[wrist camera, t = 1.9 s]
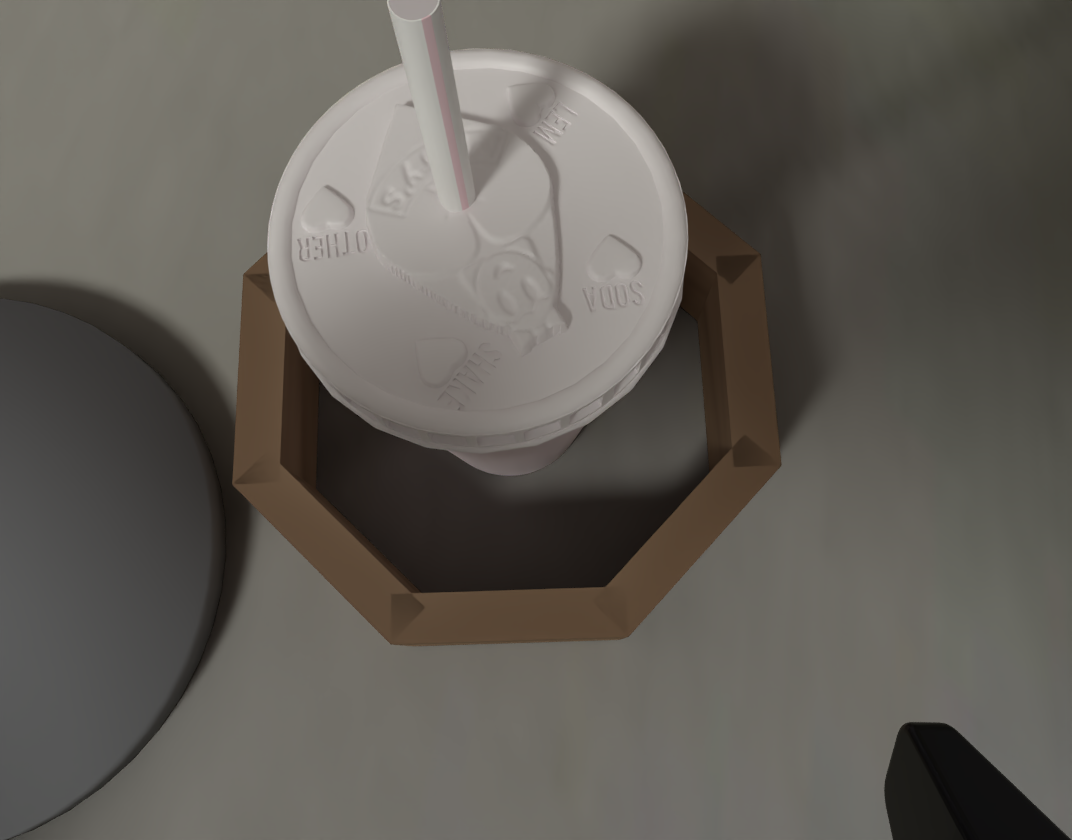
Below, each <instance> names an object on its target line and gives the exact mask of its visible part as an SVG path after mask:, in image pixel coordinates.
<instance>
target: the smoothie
mask: <svg viewBox="0 0 1072 840" xmlns="http://www.w3.org/2000/svg"><path fill="white" fill-rule="evenodd" d="M387 4H388V8H389V12H390V16H391V20H392V24H393V27H394V31H395V35H396V39H397V43H398V46H399V50H400V54H401V58H402V62H403V63H402V64H399V65H397V66H394V67H392V68H390V69H388V70H386V71H383V72H381V73H379V74H377V75H375V76H374V77H372V78H370V79H369V80H367V81H365V82H363V83H362V84H360V85H359V86H357V87H356V88H354V89H353V90H352V91H350V92H349V93H347V94H346V95H344V96H343V97H342V98H341V99H340V100H339V101H337V102H336V103H335V104H334V105H333V106H332V107H330V108H329V109H328V110H327V111H326V112H325V113H324V114H323V115H322V117H321V118H320V119H319V120H318V121H317V122H316V123H315V124H314V125H313V127H312V128H311V129H310V130H309V131H308V133H307V134H306V135H305V136H304V138H303V139H302V141H301V142H300V144H299V145H298V147H297V148H296V150H295V151H294V153H293V155H292V157H291V159H290V161H289V162H288V164H287V166H286V168H285V170H284V173H283V175H282V178H281V180H280V182H279V185H278V187H277V191H276V194H275V198H274V201H273V204H272V209H271V214H270V220H269V227H268V240H267V252H268V267H269V275H270V281H271V285H272V289H273V293H274V298H275V301H276V304H277V306H278V309H279V312H280V315H281V317H282V319H283V321H284V323H285V325H286V327H287V329H288V331H289V333H290V335H291V337H292V338H293V340H294V342H295V343H296V345H297V346H298V349H299V352H300V354H301V356H302V357H303V359H304V360H305V361H306V363H307V364H308V365H309V367H310V368H311V369H312V370H313V372H314V373H315V374H316V376H317V377H318V378H319V380H320V381H321V382H322V384H323V385H324V386H325V387H326V389H327V390H328V391H329V393H330V394H331V395H332V396H333V397H334V398H335V399H337V400H338V401H339V402H341V403H342V404H343V405H345V406H346V407H347V408H349V409H350V410H351V411H353V412H354V413H355V414H357V415H358V416H359V417H361V418H362V419H364V420H365V421H366V422H368V423H369V424H370V425H372V426H373V427H374V428H376V429H379V430H381V431H384V432H387V433H389V434H392V435H394V436H397V437H399V438H402V439H405V440H407V441H410V442H412V443H415V444H417V445H420V446H423V447H425V448H432V449H441V450H448V451H449V452H451V453H452V454H454V455H455V456H457V457H458V458H460V459H462V460H463V461H465V462H466V463H468V464H469V465H471V466H473V467H475V468H477V469H479V470H481V471H484V472H487V473H490V474H495V475H502V476H517V475H524V474H528V473H532V472H535V471H537V470H540V469H542V468H544V467H546V466H548V465H549V464H551V463H552V462H554V461H555V460H557V459H558V458H559V457H560V456H561V455H562V454H563V453H564V452H565V451H566V450H567V449H568V448H569V446H570V445H571V444H572V442H573V441H574V439H575V438H576V436H577V435H578V434H579V432H580V431H581V429H582V428H583V427H584V426H585V425H587V424H589V423H590V422H591V421H593V420H594V419H595V418H597V417H598V416H599V415H600V414H602V413H603V412H604V411H606V410H607V409H608V408H609V407H611V406H612V405H613V404H615V403H616V402H617V401H618V400H620V399H621V398H622V397H624V396H625V395H626V394H627V393H629V392H630V391H631V390H632V389H633V388H634V386H635V385H636V384H637V382H638V381H639V380H640V378H641V377H642V376H643V374H644V373H645V372H646V370H647V369H648V368H649V366H650V365H651V364H652V362H653V361H654V359H655V358H656V357H657V355H658V354H659V353H660V351H661V350H662V349H663V347H664V345H665V342H666V340H667V337H668V334H669V332H670V329H671V327H672V324H673V321H674V319H675V316H676V313H677V311H678V308H679V306H680V303H681V300H682V292H683V280H684V272H685V266H686V261H687V250H688V222H687V214H686V207H685V201H684V197H683V193H682V189H681V185H680V182H679V179H678V177H677V174H676V171H675V169H674V166H673V164H672V162H671V160H670V158H669V156H668V154H667V152H666V150H665V148H664V146H663V145H662V143H661V142H660V140H659V139H658V137H657V135H656V134H655V132H654V131H653V130H652V129H651V127H650V126H649V125H648V124H647V122H646V121H645V120H644V119H643V117H642V116H641V115H640V114H639V113H638V112H637V111H636V110H635V109H634V108H633V107H632V106H631V105H630V104H629V103H628V102H627V101H625V100H624V99H623V98H622V97H621V96H619V95H618V94H617V93H616V92H615V91H613V90H612V89H610V88H609V87H607V86H606V85H605V84H603V83H602V82H600V81H599V80H597V79H595V78H593V77H592V76H590V75H588V74H586V73H585V72H583V71H580V70H578V69H576V68H574V67H572V66H569V65H567V64H565V63H562V62H559V61H556V60H553V59H550V58H547V57H543V56H539V55H535V54H531V53H527V52H520V51H514V50H506V49H491V48H483V49H462V50H452V51H450V49H449V43H448V38H447V32H446V27H445V21H444V16H443V10H442V5H441V0H387Z"/></svg>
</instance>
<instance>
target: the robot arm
mask: <svg viewBox="0 0 1072 840" xmlns="http://www.w3.org/2000/svg"><path fill="white" fill-rule="evenodd" d="M884 792H885V803H886V809H887V814H888V818H889V823H890V828H891V832H892V837H893V840H1071V839H1070V838H1069V837H1068V836H1067V835H1066V834H1065V833H1064V832H1063V831H1061V830H1060V829H1059V828H1058V827H1057V826H1056V825H1055V824H1054V823H1053V822H1052V821H1051V820H1050V819H1049V818H1048V817H1047V816H1046V815H1045V814H1044V813H1043V812H1042V811H1041V810H1039V809H1038V808H1037V807H1036V806H1035V805H1034V804H1033V803H1032V802H1031V801H1030V800H1029V799H1028V798H1027V797H1026V796H1025V795H1024V794H1023V793H1022V792H1021V791H1020V790H1019V789H1017V788H1016V787H1015V786H1014V785H1013V784H1012V783H1011V782H1010V781H1009V780H1008V779H1007V778H1006V777H1005V776H1004V775H1003V774H1002V773H1001V772H1000V771H999V770H998V769H997V768H995V767H994V766H993V765H992V764H991V763H990V762H989V761H988V760H987V759H986V758H985V757H984V756H983V755H982V754H981V753H980V752H979V751H978V750H977V749H976V748H975V747H974V746H972V745H971V744H970V743H969V742H968V741H967V740H966V739H965V738H964V737H963V736H962V735H961V734H960V733H959V732H958V731H957V730H955V729H954V728H953V727H951V726H949V725H947V724H945V723H930V722H909V723H905V724H904V725H903V726H902V727H901V728H900V730H899V732H898V735H897V738H896V742H895V745H894V749H893V753H892V756H891V760H890V764H889V767H888V771H887V774H886V779H885V787H884Z"/></svg>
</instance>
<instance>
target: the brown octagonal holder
mask: <svg viewBox="0 0 1072 840" xmlns="http://www.w3.org/2000/svg"><path fill="white" fill-rule="evenodd" d="M682 193H683V197H684V201H685V207H686V214H687V222H688V250H687V261H686V266H685V272H684V280H683V292H682V300H681V303H680V307H681V308H683V309H684V310H685V311H686V312H687V313H689V314H690V315H691V316H692V317H693V318H695V319H696V320H697V321H698V333H699V345H700V358H701V371H702V383H703V396H704V409H705V421H706V434H707V446H708V459H709V472H710V473H709V474H708V475H707V476H706V477H705V478H704V479H703V480H702V481H701V483H700V484H699V485H698V486H697V487H696V488H695V489H694V490H693V491H692V492H691V494H690V495H689V496H688V497H687V498H686V499H685V500H684V501H683V502H682V503H681V505H680V506H679V507H678V508H677V509H676V510H675V511H674V512H673V513H672V514H671V516H670V517H669V518H668V519H667V520H666V521H665V522H664V523H663V524H662V525H661V527H660V528H659V529H658V530H657V531H656V532H655V533H654V534H653V535H652V536H651V538H650V539H649V540H648V541H647V542H646V543H645V544H644V545H643V546H642V547H641V549H640V550H639V551H638V552H637V553H636V554H635V555H634V556H633V557H632V558H631V560H630V561H629V562H628V563H627V564H626V565H625V566H624V567H623V568H622V569H621V571H620V572H619V573H618V574H617V575H616V576H615V577H614V578H613V579H612V580H611V582H610V583H609V584H608V585H607V586H606V587H592V588H561V589H531V590H500V591H470V592H439V593H421V592H420V591H419V590H418V589H417V588H416V587H415V586H414V585H413V584H412V583H411V582H410V581H409V580H408V579H407V578H406V577H405V576H404V575H403V574H402V573H401V572H400V571H399V570H398V569H397V568H396V567H395V566H394V565H393V564H392V563H391V562H390V561H389V560H388V559H387V558H386V557H385V556H384V555H383V554H382V553H381V552H380V551H379V550H378V549H377V548H376V547H375V546H373V545H372V544H371V543H370V542H369V541H368V540H367V539H366V538H365V537H364V536H363V535H362V534H361V533H360V532H359V531H358V530H357V529H356V528H355V527H354V526H353V525H352V524H351V523H350V522H349V521H348V520H347V519H346V518H345V517H344V516H343V515H342V514H341V513H340V512H339V511H338V510H337V509H336V508H335V507H334V506H333V505H332V504H331V503H330V502H329V501H328V500H327V499H326V498H325V497H324V496H323V495H322V494H321V493H320V492H319V491H318V490H317V489H316V470H317V436H318V403H319V378H318V377H317V376H316V374H315V373H314V372H313V370H312V369H311V368H310V367H309V365H308V364H307V363H306V361H305V360H304V359H303V357H302V356H301V354H300V352H299V349H298V346H297V345H296V343H295V342H294V340H293V338H292V337H291V335H290V333H289V331H288V329H287V327H286V325H285V323H284V321H283V319H282V317H281V315H280V312H279V309H278V306H277V304H276V301H275V298H274V293H273V289H272V285H271V281H270V275H269V267H268V252H267V253H266V254H265V255H264V256H263V257H261V258H260V259H259V260H258V261H257V262H256V263H255V264H254V265H253V266H252V267H251V268H250V269H248V270H247V271H246V272H245V273H244V274H243V291H242V310H241V329H240V348H239V367H238V386H237V405H236V424H235V443H234V462H233V481H232V485H233V486H234V487H235V488H236V489H237V490H238V491H239V492H240V493H241V494H242V495H243V496H244V497H245V498H246V499H247V500H248V501H249V502H250V503H251V504H252V505H253V506H254V507H255V508H256V509H257V510H258V511H259V512H260V513H261V514H262V515H263V516H264V517H265V518H266V519H267V520H268V521H269V522H270V523H271V524H272V525H273V526H274V527H275V528H276V529H277V530H278V531H279V532H280V533H281V534H282V535H283V536H284V537H285V538H286V539H287V540H288V541H289V542H290V543H291V544H292V545H293V546H294V547H295V548H296V549H297V550H298V551H299V552H300V553H301V554H302V555H303V556H304V557H305V558H306V559H307V560H308V561H309V562H310V563H311V564H312V565H313V566H314V567H315V568H316V569H317V570H318V571H319V572H320V573H321V574H322V575H323V576H324V578H325V579H326V580H327V581H328V582H329V583H330V584H331V585H332V586H333V587H334V588H335V589H336V590H337V591H338V592H339V593H340V594H341V595H342V596H343V597H344V598H345V599H346V600H347V601H348V602H349V603H350V604H351V605H352V606H353V607H354V608H355V609H356V610H357V611H358V612H359V613H360V614H361V615H362V616H363V617H364V618H365V619H366V620H367V621H368V622H369V623H370V624H371V625H372V626H373V627H374V628H375V629H376V630H377V631H378V632H379V633H380V634H381V635H382V636H383V637H384V638H385V639H386V640H387V641H388V642H389V643H390V644H393V645H405V646H437V645H468V644H500V643H531V642H562V641H594V640H620V639H623V638H626V637H629V636H630V634H631V633H632V632H633V631H634V630H635V629H636V628H637V627H638V625H639V624H640V623H641V622H642V621H643V620H644V619H645V618H646V617H647V615H648V614H649V613H650V612H651V611H652V610H653V609H654V608H655V606H656V605H657V604H658V603H659V602H660V601H661V600H662V599H663V598H664V596H665V595H666V594H667V593H668V592H669V591H670V590H671V589H672V587H673V586H674V585H675V584H676V583H677V582H678V581H679V580H680V578H681V577H682V576H683V575H684V574H685V573H686V572H687V571H688V570H689V568H690V567H691V566H692V565H693V564H694V563H695V562H696V561H697V559H698V558H699V557H700V556H701V555H702V554H703V553H704V552H705V550H706V549H707V548H708V547H709V546H710V545H711V544H712V543H713V542H714V540H715V539H716V538H717V537H718V536H719V535H720V534H721V533H722V531H723V530H724V529H725V528H726V527H727V526H728V525H729V524H730V522H731V521H732V520H733V519H734V518H735V517H736V516H737V515H738V514H739V512H740V511H741V510H742V509H743V508H744V507H745V506H746V505H747V503H748V502H749V501H750V500H751V499H752V498H753V497H754V496H755V494H756V493H757V492H758V491H759V490H760V489H761V488H762V487H763V486H764V484H765V483H766V482H767V481H768V480H769V479H770V478H771V477H772V475H773V474H774V473H775V472H776V471H777V470H778V469H779V468H780V467H781V455H780V445H779V435H778V425H777V415H776V405H775V395H774V385H773V375H772V364H771V354H770V344H769V334H768V324H767V314H766V304H765V294H764V284H763V274H762V264H761V254H760V253H758V252H757V251H756V250H755V249H753V248H752V247H751V246H750V245H748V244H747V243H746V242H745V241H744V240H742V239H741V238H740V237H739V236H737V235H736V234H735V233H734V232H732V231H731V230H730V229H729V228H727V227H726V226H725V225H724V224H722V223H721V222H720V221H719V220H717V219H716V218H715V217H714V216H713V215H711V214H710V213H709V212H708V211H706V210H705V209H704V208H703V207H701V206H700V205H699V204H698V203H696V202H695V201H694V200H693V199H691V198H690V197H689V196H688V195H687V194H685V193H684V192H683V191H682Z"/></svg>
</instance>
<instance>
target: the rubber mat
mask: <svg viewBox="0 0 1072 840" xmlns="http://www.w3.org/2000/svg"><path fill="white" fill-rule="evenodd" d="M225 557H226V535H225V515H224V508H223V501H222V494H221V487H220V483H219V480H218V477H217V473H216V470H215V466H214V463H213V459H212V456H211V453H210V451H209V449H208V447H207V444H206V442H205V440H204V438H203V436H202V433H201V431H200V429H199V427H198V425H197V423H196V422H195V420H194V419H193V417H192V415H191V414H190V412H189V411H188V409H187V408H186V406H185V404H184V403H183V401H182V400H181V398H180V397H179V396H178V395H177V394H176V393H175V392H174V390H173V389H172V388H171V387H170V386H169V385H168V383H167V382H166V381H165V380H164V379H163V378H162V376H161V375H159V374H158V373H157V372H156V371H155V370H154V369H152V368H151V367H150V366H149V365H148V364H147V363H146V362H144V361H143V360H142V359H141V358H140V357H139V356H137V355H136V354H135V353H133V352H132V351H130V350H129V349H128V348H126V347H125V346H123V345H122V344H121V343H119V342H118V341H116V340H115V339H113V338H111V337H110V336H108V335H107V334H105V333H104V332H102V331H100V330H99V329H97V328H96V327H94V326H93V325H90V324H88V323H86V322H84V321H81V320H79V319H77V318H75V317H73V316H70V315H68V314H66V313H64V312H61V311H57V310H54V309H50V308H47V307H44V306H40V305H37V304H33V303H28V302H21V301H15V300H8V299H2V298H0V840H8V839H11V838H13V837H16V836H18V835H21V834H24V833H26V832H29V831H31V830H34V829H36V828H38V827H40V826H41V825H43V824H45V823H47V822H49V821H51V820H53V819H54V818H56V817H58V816H60V815H62V814H64V813H66V812H67V811H69V810H71V809H72V808H74V807H75V806H76V805H78V804H79V803H81V802H82V801H83V800H85V799H86V798H88V797H89V796H91V795H92V794H93V793H95V792H96V791H98V790H99V789H100V788H102V787H103V786H104V785H105V784H106V783H107V782H109V781H110V780H111V779H112V778H113V777H114V776H115V775H116V774H117V773H119V772H120V771H121V770H122V769H123V768H124V767H125V766H126V765H127V764H128V763H130V762H131V761H132V760H133V759H134V757H135V756H136V755H137V754H138V753H139V752H140V751H141V749H142V748H143V747H144V746H145V745H146V744H147V743H148V741H149V740H150V739H151V738H152V737H153V736H154V735H155V733H156V732H157V731H158V730H159V729H160V727H161V726H162V724H163V723H164V721H165V720H166V718H167V717H168V715H169V714H170V713H171V711H172V710H173V708H174V707H175V705H176V704H177V702H178V701H179V699H180V698H181V696H182V694H183V692H184V691H185V689H186V687H187V685H188V683H189V681H190V679H191V677H192V675H193V673H194V671H195V670H196V668H197V666H198V664H199V662H200V659H201V656H202V654H203V651H204V648H205V646H206V643H207V641H208V638H209V635H210V633H211V630H212V627H213V624H214V620H215V615H216V611H217V607H218V603H219V599H220V595H221V591H222V583H223V574H224V566H225Z"/></svg>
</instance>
